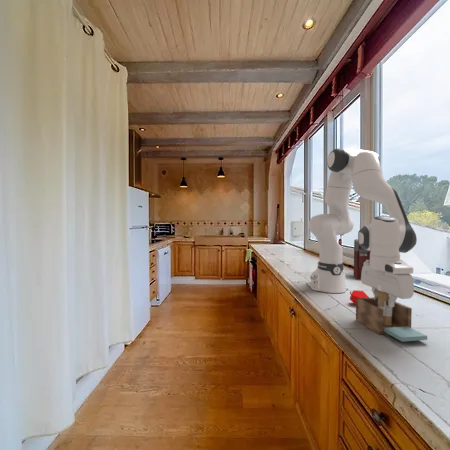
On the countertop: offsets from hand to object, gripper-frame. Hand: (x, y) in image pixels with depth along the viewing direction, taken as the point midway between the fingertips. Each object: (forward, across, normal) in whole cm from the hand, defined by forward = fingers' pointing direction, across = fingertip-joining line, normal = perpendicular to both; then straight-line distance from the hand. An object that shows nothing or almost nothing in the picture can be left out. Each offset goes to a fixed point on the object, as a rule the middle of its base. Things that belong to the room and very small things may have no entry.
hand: (383, 303), depth 90 cm
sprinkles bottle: (+7, 0, 0) cm, 7 cm away
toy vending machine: (+8, -64, +38) cm, 75 cm away
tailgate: (+7, +5, 0) cm, 9 cm away
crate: (+8, -1, 0) cm, 8 cm away
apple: (+8, -22, +6) cm, 24 cm away
